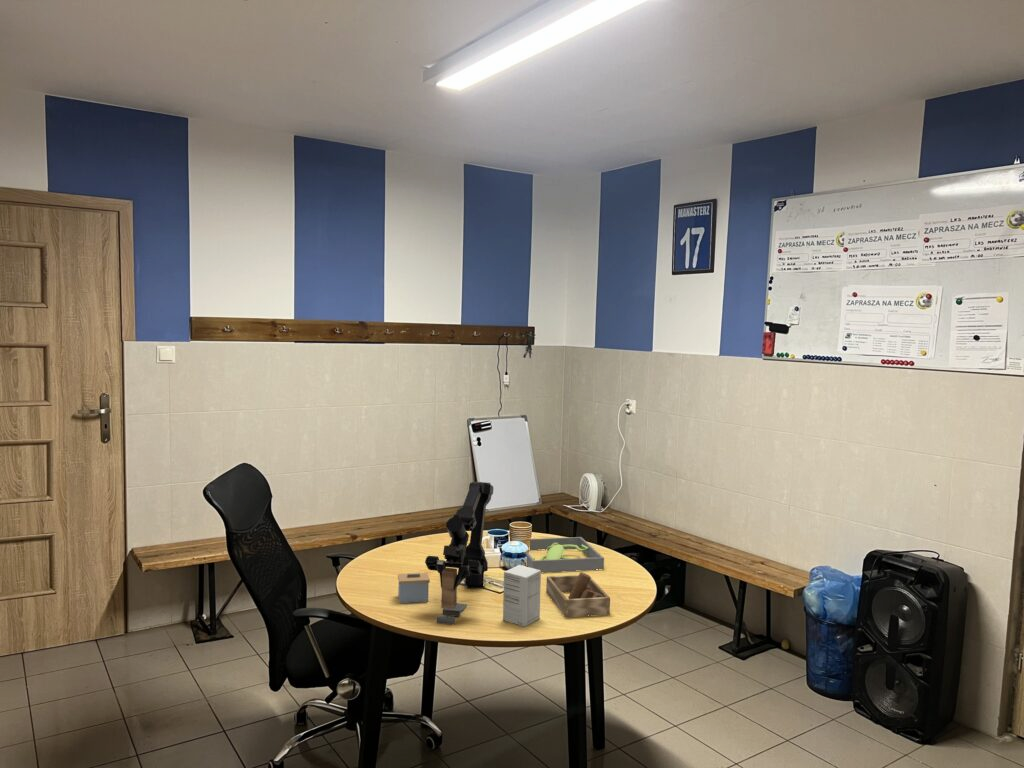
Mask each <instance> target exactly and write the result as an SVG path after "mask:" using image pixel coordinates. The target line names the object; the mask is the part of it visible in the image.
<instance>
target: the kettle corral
mask: <svg viewBox="0 0 1024 768" xmlns="http://www.w3.org/2000/svg"><path fill="white" fill-rule="evenodd" d="M529 539H530V551H529V552H532V551H531V550H537V551H539V550H538V549H547V548H548V547H549V546H551V545H552V544H553V543H558V544H560V545H577V546H578V547H579V548H580V549H585V548H583V547H582V546H581V545H584V546H586V547H588V550H586V551H583V552H582V553H583V554H584V555H585V556H586V555H587V556H588V557H589V558H588V557H587V556H586V557H581V558H575V557H574V558H570V559H561V558H560V559H554V560H546V559H544V560H540V559H537V560H536V559H535V560H534V559H533V558H534V557H532V555H531V554H530V553H529V552H528V554H527V566H528V567H530V568H534V569H538V570H541V574H543V573H542V572H553V573H563V572H562V571H573V572H577V571H576V570H594V571H600V570H599V569H604V568H605V557H604V556H603V555H601V553H599V552H598V551H597V550H596V549H595V548H594V547H593V546H592V545H591V544H590V543H588V541H586V540H585V539H584V538H583V537H582V536H575V537H571V536H570V537H549V538H548V537H546V538H529ZM575 549H576V548H573V547H565V548H564V550H575ZM576 550H577V549H576ZM527 566H526V567H527ZM596 569H598V570H596Z"/></svg>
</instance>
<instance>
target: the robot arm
mask: <svg viewBox="0 0 1024 768" xmlns="http://www.w3.org/2000/svg"><path fill="white" fill-rule="evenodd" d="M468 486H469V487H468V492H467V494H466V496H465V499H464V502H463V505H462V507H460V508H458V509H457V510H456V512H455V514H454V515H453V517H450V518H449V519H448V520H446V522H445V527H446V529H447V533H448V534H449V535H448V536H449V538H451V539H450V543H449V544H448V545H444V546H443V553H442V556H443V558H444V560H443V559H440V558H439V556H438V555H437V556H436V555H427V556H426V557H425V560H424V561H425V562H424V563H425V566H426V567H427V570H429V571H435V572H436V571H437V573H438V574H439V580H440V581H439V582H440V588H441V589H442V571H443V570H444V569H445V568H455V569H457V577H456V580H455V584H454V590H456V588H458V587H459V586H460V585H461V583H462V582H463V581H464V585H465V586H466V588H467V589H482V588H483V587H484V588H485V583H484V581H485V580H484V579H485V578H484V576H485V575H484V574H485V572H487V571H489V570H488V567H489V565H488V560H487V557H486V552H485V549H484V547H483V544H482V543H483V537H484V527H485V517H486V508H487V506H488V504H489V503H490V501H491V500H492V495H493V494H494V485H492V484H491V482H483V481H472V482H469V485H468ZM467 531H470V535H469V533H468V532H467ZM469 537H470V538H469ZM468 541H469V543H468ZM483 584H484V586H483Z"/></svg>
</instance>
